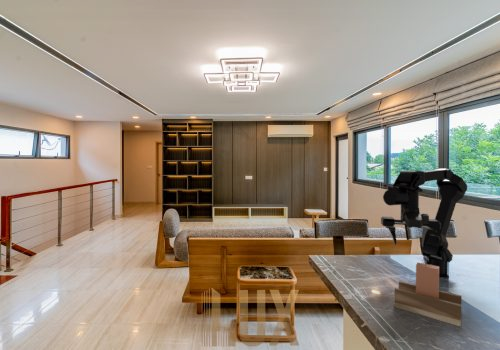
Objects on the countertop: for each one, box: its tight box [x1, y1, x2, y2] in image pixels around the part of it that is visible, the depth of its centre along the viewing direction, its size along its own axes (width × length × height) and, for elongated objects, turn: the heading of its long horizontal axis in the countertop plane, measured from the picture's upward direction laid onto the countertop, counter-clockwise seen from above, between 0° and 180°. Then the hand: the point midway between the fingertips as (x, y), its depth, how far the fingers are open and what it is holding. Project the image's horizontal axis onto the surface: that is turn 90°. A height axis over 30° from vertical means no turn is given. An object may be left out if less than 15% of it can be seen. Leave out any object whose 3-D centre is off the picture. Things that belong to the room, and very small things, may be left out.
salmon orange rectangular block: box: [415, 262, 440, 299], centre depth 79 cm, size 3×6×12 cm, turn 51°
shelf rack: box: [393, 280, 463, 327], centre depth 79 cm, size 10×16×5 cm, turn 51°
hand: (409, 245), depth 99 cm, fingers open, 9 cm apart
